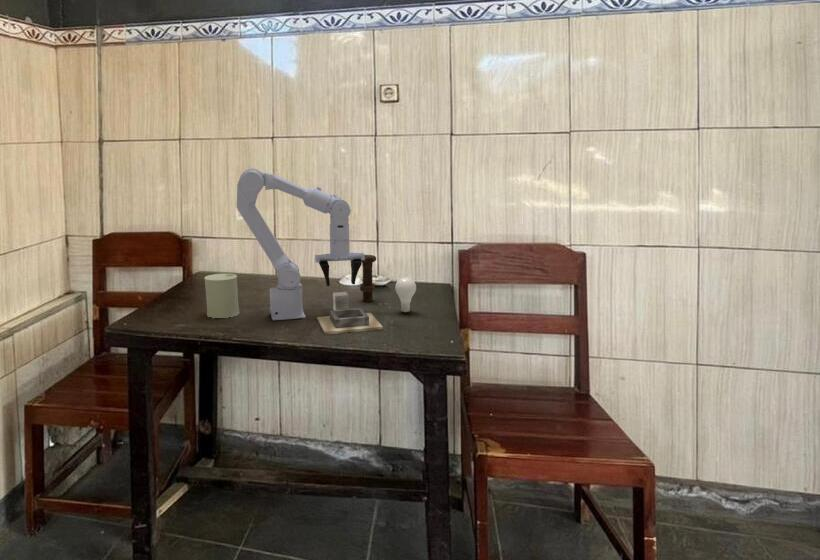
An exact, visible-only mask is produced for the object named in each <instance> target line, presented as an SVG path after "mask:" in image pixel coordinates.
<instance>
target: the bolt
mask: <svg viewBox="0 0 820 560" xmlns="http://www.w3.org/2000/svg"><path fill="white" fill-rule="evenodd" d="M361 261H362V264H361V267H362V283H361V284H360V286H359V291H361V292H362V301H363V302H367V303H368V302H369V303H370V302H373V292H374V291H375V290H376V285H375V284H374V283H373V264H374V262H376V261H377V256H375V255H372V254H365V260H361Z"/></svg>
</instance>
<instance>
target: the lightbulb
mask: <svg viewBox="0 0 820 560" xmlns="http://www.w3.org/2000/svg"><path fill="white" fill-rule="evenodd" d="M394 286H395V287H394V289H395V292H396V294H397V295H398V297H399V301H400V305H401V306H400V308H401V309H400V311H401V312H403V313H405V314H406V313H408V312H410V311H411V310H410V309H411V301H412V298H413V296H414V295H415V293H416V291H417V284H416V283H415V281H414V279H412V278H411V277H406V276H405V277H400V278H399V279H398V280H397V282H396V283H395V285H394Z"/></svg>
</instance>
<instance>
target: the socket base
mask: <svg viewBox="0 0 820 560" xmlns="http://www.w3.org/2000/svg"><path fill="white" fill-rule="evenodd" d="M316 320H317V322H318V324H319V326H320V328H321V330H322V331H323V334H324V335H325V336H327V335H339V334H349V333H348V332H350V333H357V332H360V333H361V332H371V331H382V329H384V327H383V325H382V324H381V323H380V322H379V321H378V319H376V317H375V316H374V315H373V314H372V312H365V310H364V309H363V308H362V307H358V308H354V307H353V308H349V309H341V310H333V309H329V315H325V316H317V317H316Z"/></svg>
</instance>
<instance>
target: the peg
mask: <svg viewBox="0 0 820 560" xmlns="http://www.w3.org/2000/svg"><path fill="white" fill-rule="evenodd" d="M332 305H333V309H332V310H341V309H350V306H349V305H350V303H349V294H348V292H347V291H340V292H332Z"/></svg>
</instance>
